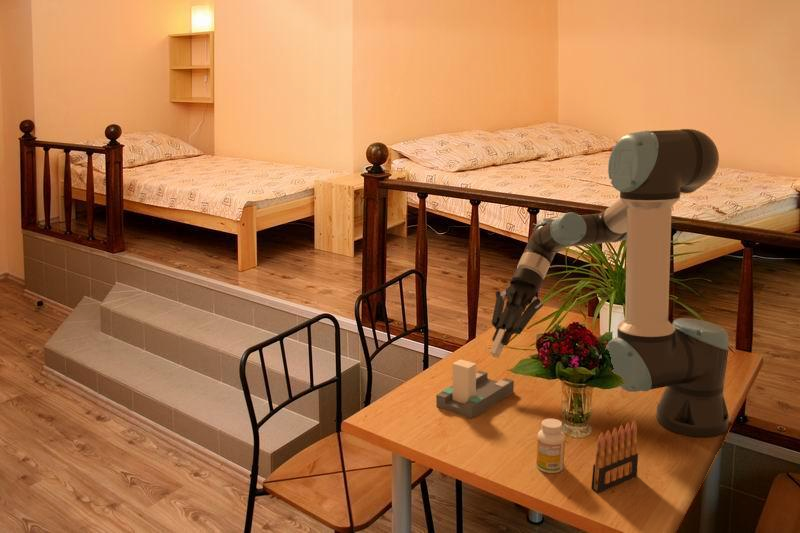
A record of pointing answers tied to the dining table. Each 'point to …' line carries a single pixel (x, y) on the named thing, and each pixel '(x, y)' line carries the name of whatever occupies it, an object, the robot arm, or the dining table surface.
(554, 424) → the supplement bottle
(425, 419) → the dining table surface
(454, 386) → the switch tab
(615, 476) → the ammunition clip
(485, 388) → the switch base
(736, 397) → the dining table surface
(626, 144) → the robot arm
